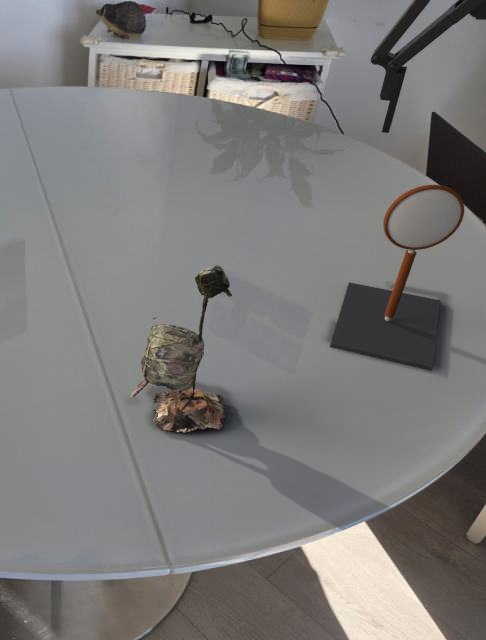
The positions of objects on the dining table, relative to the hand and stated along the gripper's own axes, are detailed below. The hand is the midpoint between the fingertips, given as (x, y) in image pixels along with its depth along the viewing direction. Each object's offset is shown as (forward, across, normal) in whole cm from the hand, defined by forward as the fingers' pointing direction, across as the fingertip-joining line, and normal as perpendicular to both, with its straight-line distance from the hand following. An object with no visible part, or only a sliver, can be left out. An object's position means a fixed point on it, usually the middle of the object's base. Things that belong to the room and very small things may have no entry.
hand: (453, 135), depth 71 cm
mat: (+27, 0, 0) cm, 27 cm away
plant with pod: (+27, -20, -28) cm, 44 cm away
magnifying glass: (+26, 0, 0) cm, 26 cm away
